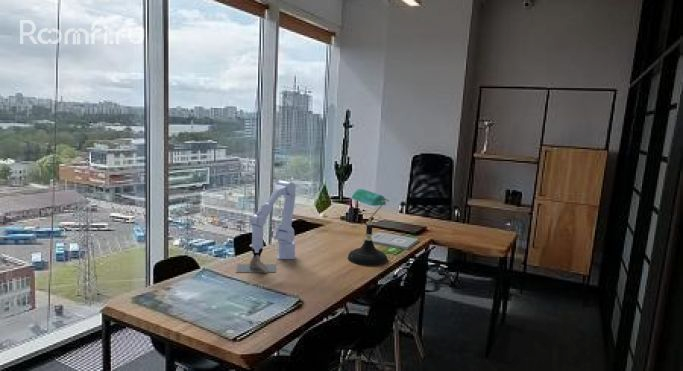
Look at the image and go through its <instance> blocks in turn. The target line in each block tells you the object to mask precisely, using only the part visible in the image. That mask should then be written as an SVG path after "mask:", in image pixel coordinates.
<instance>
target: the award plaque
mask: <svg viewBox="0 0 683 371" xmlns="http://www.w3.org/2000/svg"><path fill="white" fill-rule="evenodd" d="M371 238H372V242H373V244H374V245H379V246H384V245H385V247H389V246H390V247H391V248H394V247H397V248H396V249H400V248H402V249H401V250H406V251H408V250H409V249H410V248H412V246H414V245H415V244H416V243H418V242H419V238H416V237H410V236H404V235H403V236H402V235H398V234H391V233H387V232H381V231H380V232H379V231H377V232H376V233H372V236H371ZM365 239H366V238H363V243H364V242H365ZM390 247H389V248H390Z"/></svg>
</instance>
